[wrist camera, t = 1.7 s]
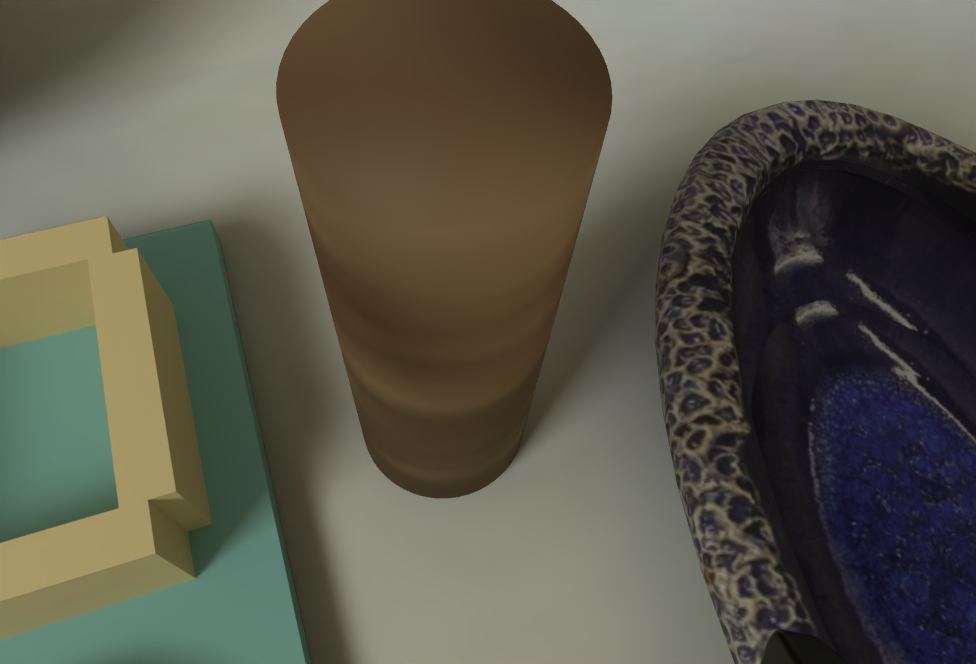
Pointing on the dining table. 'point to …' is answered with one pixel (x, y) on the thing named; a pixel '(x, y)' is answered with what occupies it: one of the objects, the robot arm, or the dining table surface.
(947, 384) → the dish
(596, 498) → the dining table surface
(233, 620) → the carrier plate
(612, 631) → the dining table surface
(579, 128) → the walnut dowel
